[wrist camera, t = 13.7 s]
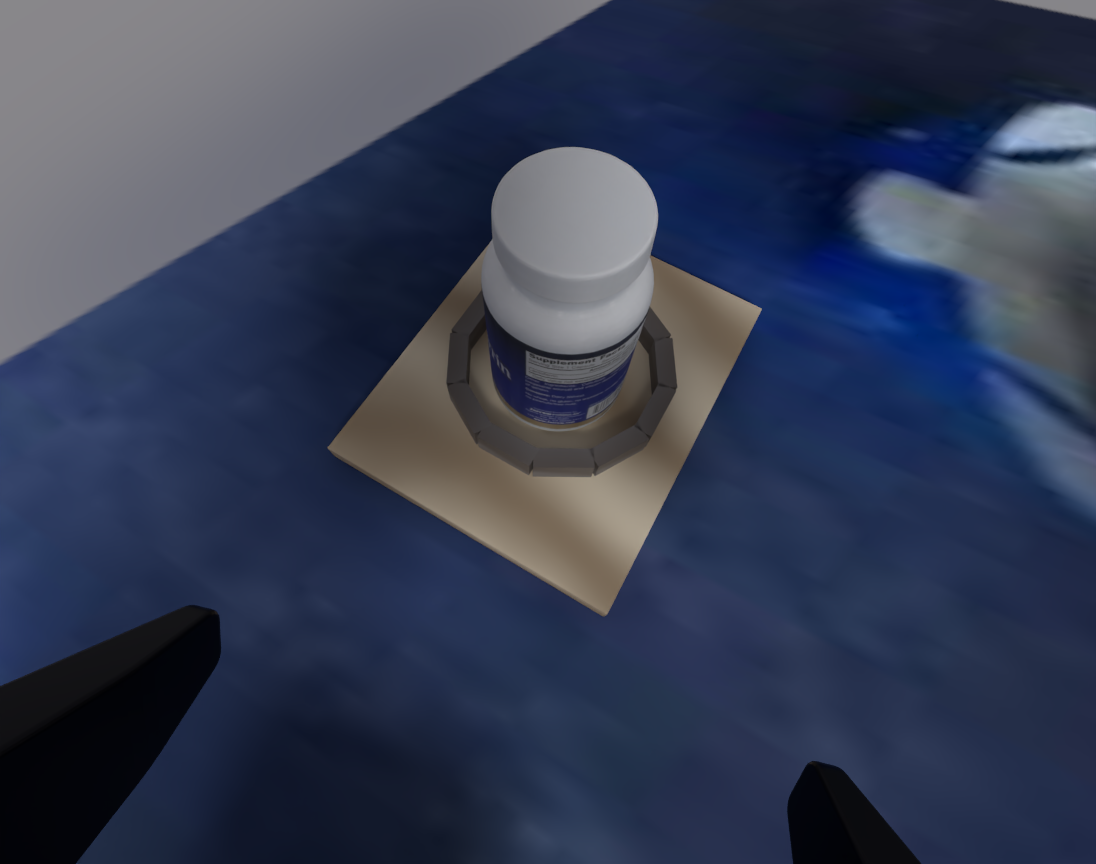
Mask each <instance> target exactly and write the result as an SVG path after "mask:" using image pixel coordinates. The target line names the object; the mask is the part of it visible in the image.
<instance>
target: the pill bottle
mask: <svg viewBox="0 0 1096 864" xmlns="http://www.w3.org/2000/svg"><path fill="white" fill-rule="evenodd" d="M491 214H492V236H493V239H492V240H491V242H490V244H489V246H488V248H487V251H486V253H485V256H484V260H483V264H482V273H481V285H482V295H483V303H484V311H485V320H486V328H487V336H488V345H489V354H490V362H491V371H492V378H493V384H494V387H495V390H496V392H497V395H498V397H499V398H500V400H501V402H502V403H503V405H504V406H505V407H506V409H507V410H508V411H509V412H510V413H511V414H512V415H514V416H515V417H516V418H518V419H519V420H521V421H522V422H524V423H526V424H528V425H530V426H533V427H536V428H539V429H543V430H548V431H570V430H575V429H579V428H582V427H585V426H587V425H589V424H591V423H593V422H595V421H597V420H598V419H599V418H601V417H602V416H603V415H604V414H605V413H606V412H607V411H608V410H609V409H610V408H611V407H612V405H613V404H614V402H615V401H616V399H617V397H618V395H619V393H620V391H621V388H622V386H623V383H624V380H625V377H626V374H627V371H628V368H629V365H630V362H631V359H632V356H633V353H634V350H635V347H636V344H637V341H638V339H639V336H640V333H641V330H642V327H643V324H644V322H645V319H646V316H647V313H648V310H649V307H650V304H651V300H652V295H653V289H654V273H653V267H652V263H651V259H650V255H651V250H652V246H653V242H654V238H655V234H656V230H657V224H658V210H657V204H656V201H655V198H654V195H653V193H652V191H651V189H650V187H649V186H648V184H647V182H646V181H645V180H644V179H643V178H642V177H641V175H640V174H639V173H638V172H637V171H636V170H635V169H633V168H632V167H631V166H630V165H628V164H627V163H625V162H623V161H621V160H620V159H618V158H616V157H614V156H612V155H610V154H607V153H604V152H601V151H597V150H593V149H587V148H581V147H562V148H555V149H549V150H545V151H542V152H539V153H536V154H534V155H532V156H529V157H527V158H525V159H524V160H522V161H520V162H519V163H518V164H516V165H515V166H514V167H513V168H512V169H511V170H510V171H509V172H508V173H507V174H506V175H505V176H504V177H503V178H502V180H501V181H500V183H499V185H498V187H497V189H496V191H495V194H494V197H493V201H492V210H491Z"/></svg>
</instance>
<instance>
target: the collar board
mask: <svg viewBox="0 0 1096 864" xmlns="http://www.w3.org/2000/svg"><path fill="white" fill-rule="evenodd" d="M489 244H490V243H489ZM489 244H488V246H489ZM488 246H487V247H486V248H485V249H484V251H483V252H482V253H481V254H480V256H479V257H478V258H477V260H476V261H475V262H474V263H473V265H472V266H471V267H470V268H469V270H468V271H467V272H466V273H465V275H464V276H463V277H462V278H461V280H460V281H459V282H458V284H457V285H456V286H455V287H454V289H453V290H452V291H451V292H450V294H449V295H448V296H447V297H446V299H445V300H444V301H443V302H442V304H441V305H440V306H439V308H438V309H437V310H436V311H435V313H434V314H433V315H432V316H431V318H430V319H429V320H428V321H427V323H426V324H425V325H424V326H423V328H422V329H421V330H420V332H419V333H418V334H417V335H416V337H415V338H414V339H413V340H412V342H411V343H410V344H409V345H408V347H407V348H406V349H405V350H404V352H403V353H402V354H401V356H400V357H399V358H398V359H397V361H396V362H395V363H394V364H393V366H392V367H391V368H390V369H389V371H388V372H387V373H386V374H385V376H384V377H383V378H382V380H381V381H380V382H379V383H378V385H377V386H376V387H375V388H374V390H373V391H372V392H371V393H370V395H369V396H368V397H367V398H366V400H365V401H364V402H363V404H362V405H361V406H360V407H359V409H358V410H357V411H356V412H355V414H354V415H353V416H352V417H351V419H350V420H349V421H348V422H347V424H346V425H345V426H344V428H343V429H342V430H341V431H340V433H339V434H338V435H337V436H336V438H335V439H334V440H333V441H332V443H331V444H330V445H329V446H328V449H329V450H330V452H331V453H332V454H333V455H334V456H335V457H337V458H339V459H340V460H342V461H344V462H345V463H347V464H349V465H350V466H352V467H354V468H355V469H357V470H359V471H360V472H362V473H364V474H365V475H367V476H369V477H370V478H372V479H374V480H375V481H377V482H379V483H380V484H382V485H384V486H385V487H387V488H389V489H390V490H392V491H394V492H395V493H397V494H399V495H401V496H402V497H404V498H406V499H407V500H409V501H411V502H412V503H414V504H416V505H417V506H419V507H421V508H422V509H424V510H426V511H427V512H429V513H431V514H432V515H434V516H436V517H437V518H439V519H441V520H442V521H444V522H446V523H447V524H449V525H451V526H452V527H454V528H456V529H457V530H459V531H461V532H462V533H464V534H466V535H467V536H469V537H471V538H473V539H474V540H476V541H478V542H479V543H481V544H483V545H484V546H486V547H488V548H489V549H491V550H493V551H494V552H496V553H498V554H499V555H501V556H503V557H504V558H506V559H508V560H509V561H511V562H513V563H514V564H516V565H518V566H519V567H521V568H523V569H524V570H526V571H528V572H529V573H531V574H533V575H534V576H536V577H538V578H540V579H541V580H543V581H545V582H546V583H548V584H550V585H551V586H553V587H555V588H556V589H558V590H560V591H561V592H563V593H565V594H566V595H568V596H570V597H571V598H573V599H575V600H576V601H578V602H580V603H581V604H583V605H585V606H586V607H588V608H590V609H591V610H593V611H595V612H596V613H598V614H600V615H601V616H603V617H604V616H605V615H607V614H608V612H609V610H610V608H611V606H612V604H613V602H614V600H615V598H616V596H617V594H618V592H619V590H620V588H621V586H622V584H623V582H624V580H625V578H626V576H627V574H628V572H629V570H630V568H631V566H632V564H633V562H634V560H635V558H636V556H637V554H638V552H639V551H640V549H641V547H642V545H643V543H644V541H645V539H646V537H647V535H648V533H649V531H650V529H651V527H652V525H653V523H654V521H655V519H656V517H657V515H658V513H659V511H660V509H661V507H662V505H663V503H664V501H665V499H666V497H667V495H668V493H669V491H670V489H671V487H672V485H673V483H674V481H675V480H676V478H677V476H678V474H679V472H680V470H681V468H682V466H683V464H684V462H685V460H686V458H687V456H688V454H689V452H690V450H691V448H692V446H693V444H694V442H695V440H696V438H697V436H698V434H699V432H700V430H701V428H702V426H703V424H704V422H705V420H706V418H707V416H708V414H709V412H710V411H711V409H712V407H713V405H714V403H715V401H716V399H717V397H718V395H719V393H720V391H721V389H722V387H723V385H724V383H725V381H726V379H727V377H728V375H729V373H730V371H731V369H732V367H733V365H734V363H735V361H736V359H737V357H738V355H739V353H740V351H741V349H742V347H743V345H744V343H745V341H746V340H747V338H748V336H749V334H750V332H751V330H752V328H753V326H754V324H755V322H756V320H757V318H758V316H759V314H760V312H761V310H762V309H761V308H759V307H757V306H755V305H753V304H751V303H749V302H747V301H745V300H743V299H741V298H738V297H736V296H734V295H732V294H730V293H728V292H726V291H724V290H722V289H720V288H718V287H715V286H713V285H711V284H709V283H707V282H705V281H703V280H701V279H699V278H697V277H695V276H692V275H690V274H688V273H686V272H684V271H682V270H680V269H678V268H676V267H674V266H672V265H669V264H667V263H665V262H663V261H661V260H659V259H657V258H655V257H653V256H651V255H650V259H651V263H652V267H653V273H654V289H653V295H652V300H651V304H650V307H649V310H648V313H647V316H646V319H645V322H644V324H643V327H642V330H641V333H640V336H639V339H638V341H637V344H636V347H635V350H634V353H633V356H632V359H631V362H630V365H629V368H628V371H627V374H626V377H625V380H624V383H623V386H622V388H621V391H620V393H619V395H618V397H617V399H616V401H615V402H614V404H613V405H612V407H611V408H610V409H609V410H608V411H607V412H606V413H605V414H604V415H603V416H602V417H601V418H599V419H598V420H597V421H595V422H593V423H591V424H589V425H587V426H585V427H582V428H579V429H575V430H570V431H548V430H543V429H539V428H536V427H533V426H530V425H528V424H526V423H524V422H522V421H521V420H519V419H518V418H516V417H515V416H514V415H512V414H511V413H510V412H509V411H508V410H507V409H506V407H505V406H504V405H503V403H502V402H501V400H500V398H499V397H498V395H497V392H496V390H495V387H494V384H493V378H492V371H491V362H490V354H489V345H488V336H487V328H486V320H485V311H484V303H483V295H482V285H481V273H482V264H483V260H484V256H485V253H486V251H487V248H488Z"/></svg>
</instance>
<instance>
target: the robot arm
mask: <svg viewBox="0 0 1096 864" xmlns="http://www.w3.org/2000/svg"><path fill="white" fill-rule="evenodd" d="M220 654H221V638H220V618H219V615H218V613H217V612H216V611H215V610H212V609H208V608H204V607H200V606H196V605H189V606H185V607H182V608H180V609H178V610H175V611H173V612H171V613H168V614H166V615H164V616H162V617H159V618H157V619H155V620H152V621H150V622H148V623H145V624H143V625H141V626H138V627H136V628H134V629H131V630H129V631H127V632H125V633H122V634H120V635H118V636H115V637H113V638H111V639H108V640H106V641H104V642H101V643H99V644H97V645H94V646H92V647H90V648H87V649H85V650H83V651H81V652H78V653H76V654H74V655H71V656H69V657H67V658H64V659H62V660H60V661H57V662H55V663H53V664H50V665H48V666H46V667H44V668H41V669H39V670H37V671H34V672H32V673H30V674H27V675H25V676H23V677H20V678H18V679H16V680H13V681H11V682H9V683H6V684H4V685H2V686H0V864H76V863H77V861H78V860H79V859H80V857H81V856H82V855H83V854H84V852H85V851H86V850H87V848H88V847H89V846H90V845H91V843H92V842H93V841H94V839H95V838H96V837H97V836H98V834H99V833H100V832H101V830H102V829H103V828H104V827H105V825H106V824H107V823H108V822H109V820H110V819H111V818H112V816H113V815H114V814H115V813H116V811H117V810H118V809H119V807H120V806H121V805H122V804H123V802H124V801H125V800H126V798H127V797H128V796H129V795H130V793H131V792H132V791H133V789H134V788H135V787H136V786H137V784H138V783H139V782H140V780H141V779H142V778H143V776H144V775H145V774H146V772H147V771H148V770H149V768H150V767H151V766H152V764H153V763H154V761H155V760H156V758H157V757H158V755H159V754H160V752H161V751H162V749H163V748H164V746H165V745H166V743H167V742H168V740H169V738H170V737H171V735H172V734H173V732H174V731H175V729H176V728H177V726H178V725H179V723H180V721H181V720H182V718H183V717H184V715H185V714H186V712H187V711H188V709H189V708H190V706H191V704H192V703H193V701H194V700H195V698H196V697H197V695H198V694H199V692H200V690H201V689H202V687H203V686H204V684H205V683H206V681H207V680H208V678H209V677H210V675H211V673H212V672H213V670H214V669H215V667H216V665H217V663H218V661H219V658H220ZM787 813H788V823H789V832H790V841H791V849H792V858H793V864H921V863H920V862H919V860H918V859H917V858H916V857H915V856H914V854H913V853H912V852H911V851H910V850H909V848H908V847H907V846H906V845H905V844H904V842H903V841H902V840H901V839H900V838H899V836H898V835H897V834H896V833H895V832H894V830H893V829H892V828H891V827H890V826H889V824H888V823H887V822H886V821H885V820H884V818H883V817H882V816H881V815H880V814H879V812H878V811H877V810H876V809H875V808H874V806H873V805H872V804H871V803H870V802H869V800H868V799H867V798H866V797H865V796H864V794H863V793H862V792H861V791H860V790H859V788H858V787H857V786H856V785H855V784H854V782H853V781H852V780H851V779H850V778H849V776H848V775H847V774H846V773H845V772H844V771H843V770H842V769H840V768H839V767H837V766H833V765H829V764H825V763H821V762H817V761H811V762H810V763H808V764H807V765H806V767H805V769H804V770H803V772H802V774H801V776H800V778H799V779H798V781H797V783H796V785H795V787H794V789H793V790H792V792H791V794H790V797H789V800H788V807H787Z"/></svg>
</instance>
